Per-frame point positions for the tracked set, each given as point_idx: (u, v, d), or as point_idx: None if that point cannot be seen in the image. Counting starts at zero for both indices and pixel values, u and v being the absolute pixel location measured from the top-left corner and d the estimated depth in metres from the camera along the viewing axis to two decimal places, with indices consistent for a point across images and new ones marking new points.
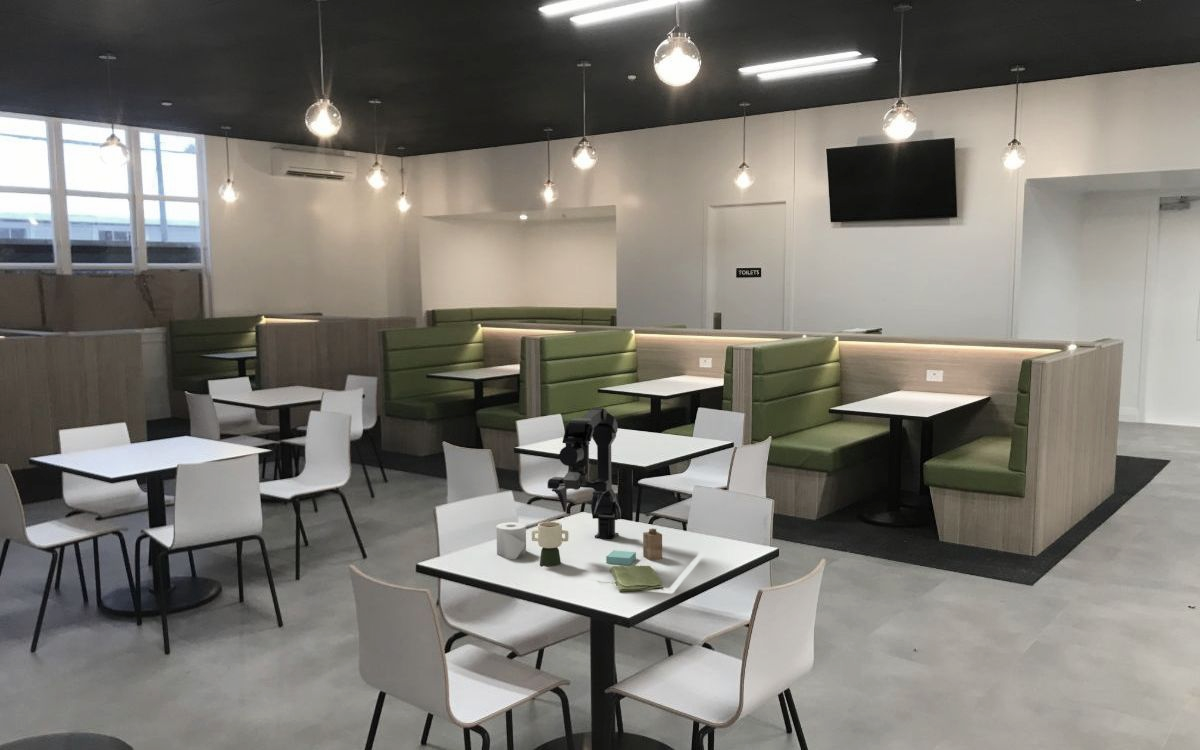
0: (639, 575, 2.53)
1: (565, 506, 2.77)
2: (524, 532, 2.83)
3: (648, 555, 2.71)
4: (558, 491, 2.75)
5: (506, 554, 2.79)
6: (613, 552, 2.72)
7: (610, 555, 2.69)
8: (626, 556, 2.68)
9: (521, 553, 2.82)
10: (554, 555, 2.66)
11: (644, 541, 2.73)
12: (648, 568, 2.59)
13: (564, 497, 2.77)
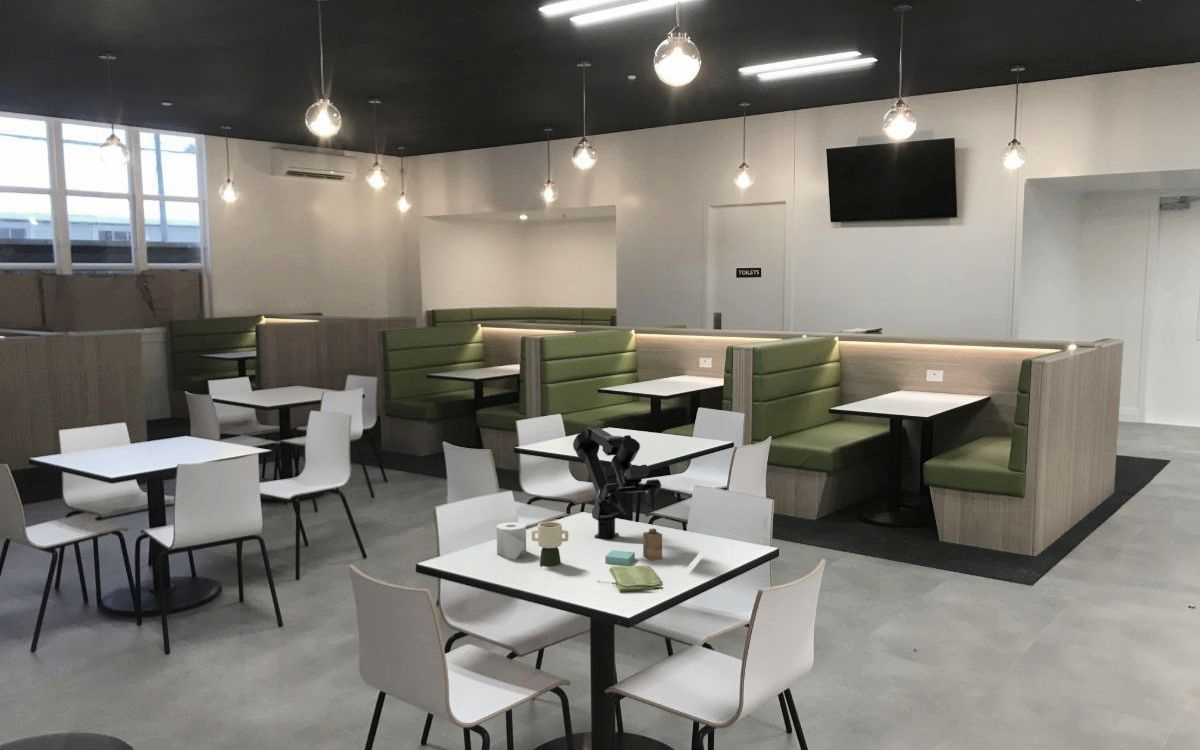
0: (639, 575, 2.53)
1: None
2: (524, 532, 2.83)
3: (648, 555, 2.71)
4: (618, 491, 2.79)
5: (506, 554, 2.79)
6: (612, 552, 2.72)
7: (609, 555, 2.69)
8: (625, 556, 2.68)
9: (521, 553, 2.82)
10: (554, 555, 2.66)
11: (644, 541, 2.73)
12: (648, 568, 2.59)
13: None
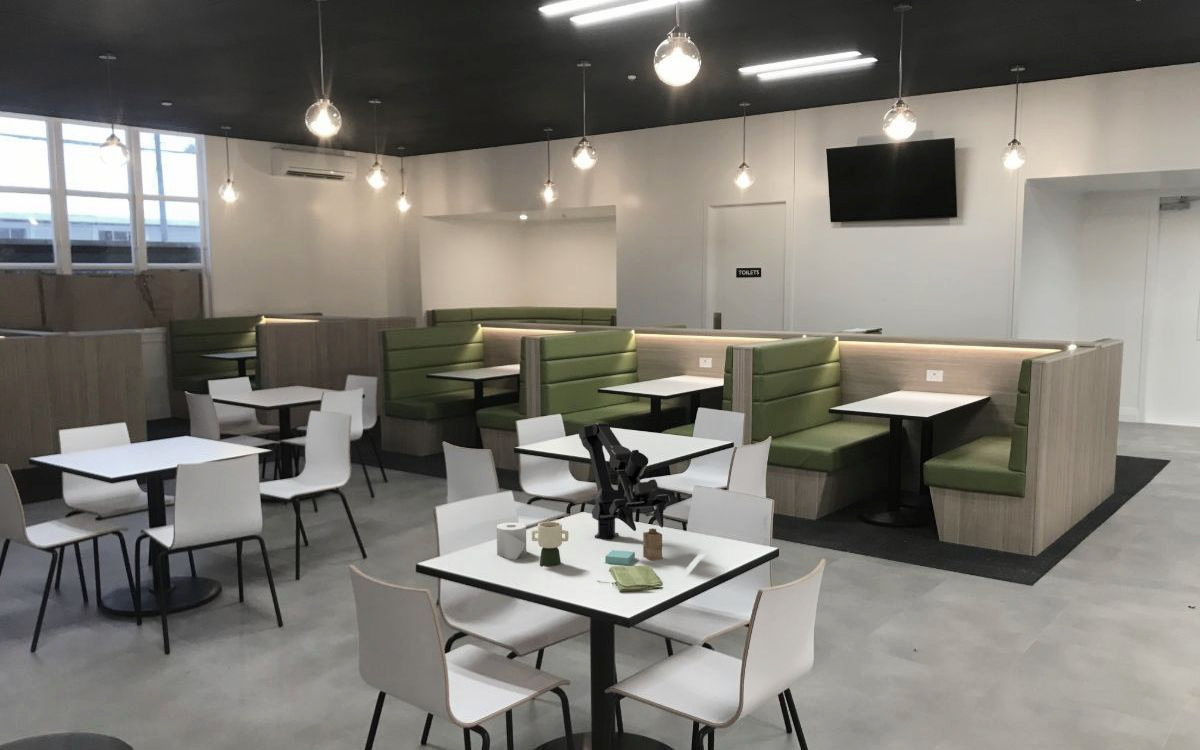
0: (639, 575, 2.53)
1: None
2: (524, 532, 2.82)
3: (648, 555, 2.71)
4: (627, 507, 2.75)
5: (506, 554, 2.79)
6: (612, 552, 2.72)
7: (609, 554, 2.70)
8: (625, 556, 2.68)
9: (521, 553, 2.81)
10: (554, 556, 2.66)
11: (644, 541, 2.73)
12: (647, 568, 2.59)
13: None
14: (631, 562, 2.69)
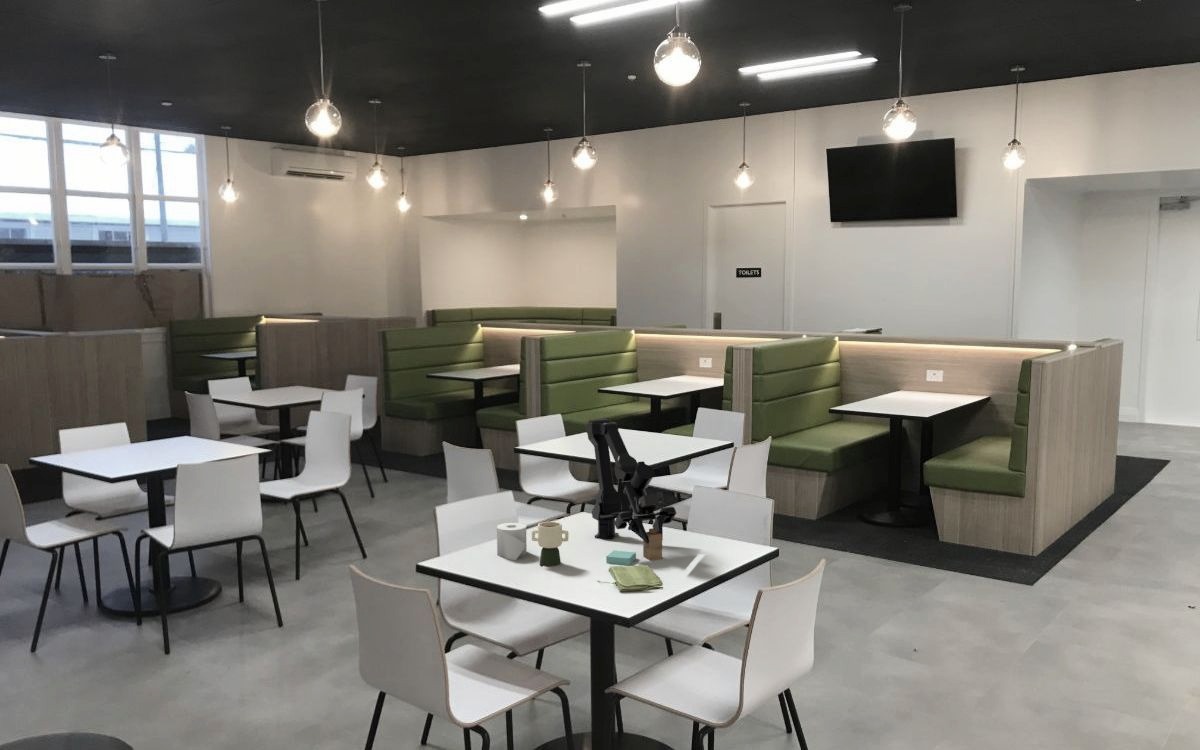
0: (638, 575, 2.53)
1: None
2: (524, 533, 2.82)
3: (648, 555, 2.71)
4: (640, 519, 2.72)
5: (506, 555, 2.78)
6: (613, 552, 2.73)
7: (610, 555, 2.70)
8: (626, 556, 2.68)
9: (521, 554, 2.81)
10: (554, 555, 2.66)
11: (644, 541, 2.73)
12: (647, 568, 2.59)
13: None
14: None
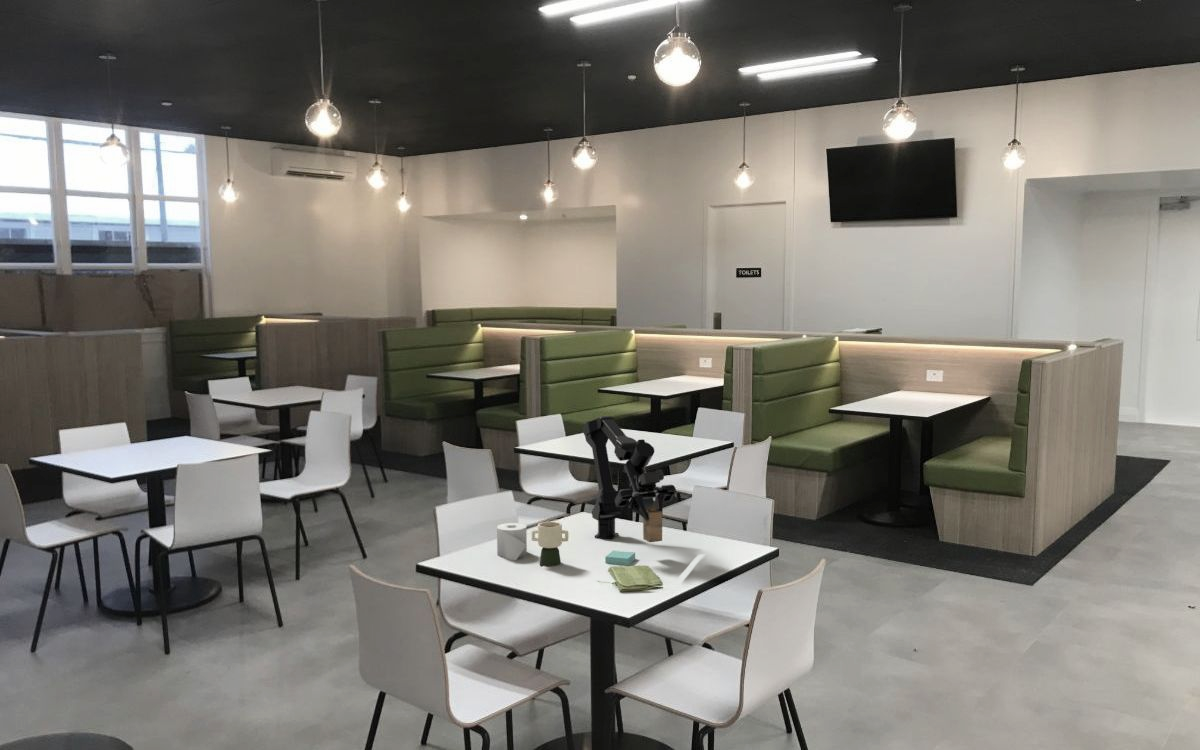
0: (638, 575, 2.53)
1: None
2: (525, 533, 2.82)
3: (648, 533, 2.71)
4: (640, 496, 2.72)
5: (506, 555, 2.78)
6: (612, 552, 2.72)
7: (609, 555, 2.69)
8: (625, 556, 2.68)
9: (522, 554, 2.81)
10: (554, 555, 2.66)
11: (644, 519, 2.73)
12: (646, 568, 2.59)
13: None
14: None
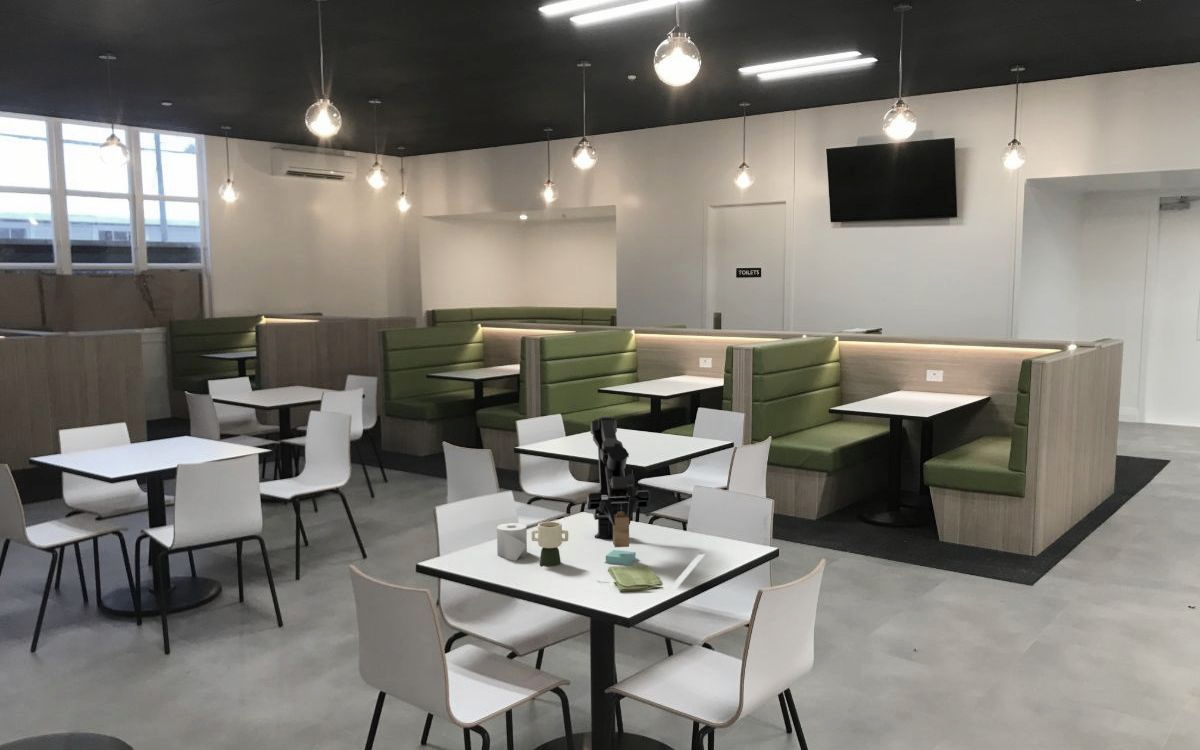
0: (638, 575, 2.53)
1: None
2: (525, 533, 2.81)
3: (614, 537, 2.68)
4: (608, 500, 2.70)
5: (506, 555, 2.78)
6: (613, 552, 2.73)
7: (609, 554, 2.70)
8: (625, 556, 2.68)
9: (522, 554, 2.81)
10: (554, 555, 2.66)
11: None
12: (646, 568, 2.59)
13: None
14: (631, 562, 2.69)
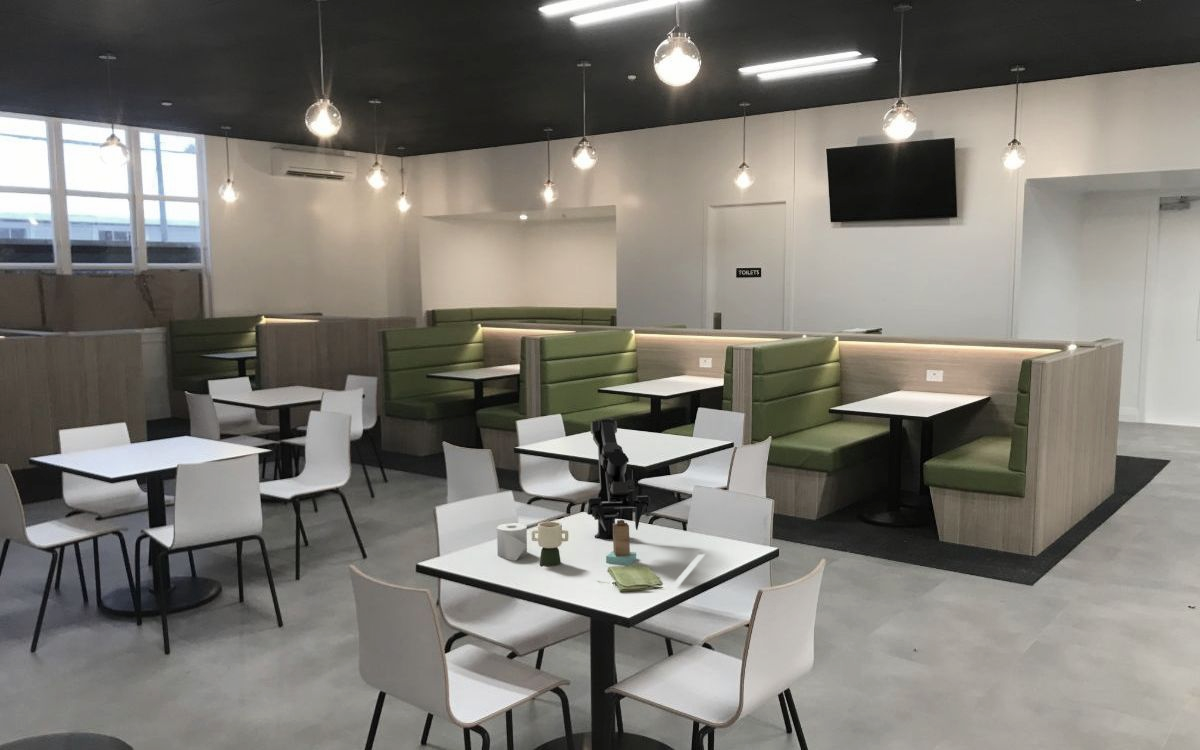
0: (638, 575, 2.53)
1: None
2: (525, 533, 2.81)
3: (615, 546, 2.69)
4: (601, 506, 2.70)
5: (506, 555, 2.78)
6: (613, 552, 2.73)
7: (609, 554, 2.70)
8: (626, 556, 2.68)
9: (522, 554, 2.80)
10: (554, 555, 2.66)
11: (613, 532, 2.71)
12: (646, 568, 2.59)
13: None
14: None
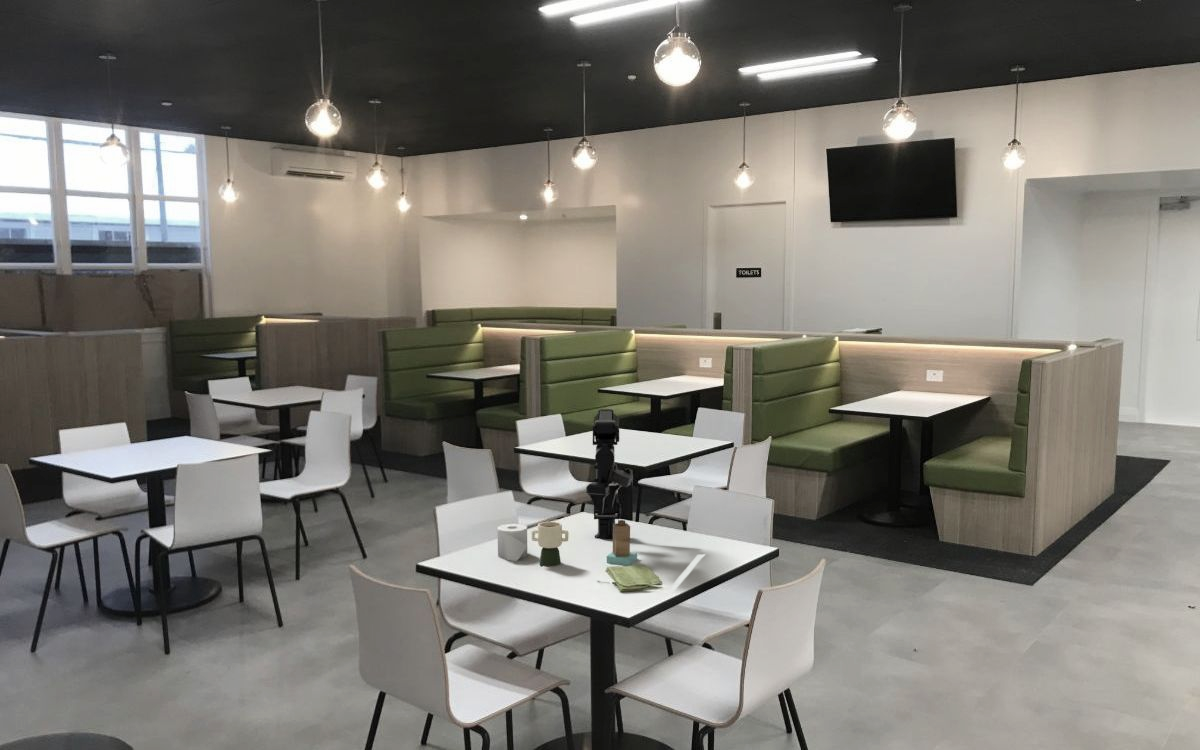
0: (637, 575, 2.53)
1: None
2: (525, 534, 2.80)
3: (615, 546, 2.68)
4: (607, 494, 2.77)
5: (507, 556, 2.77)
6: None
7: (610, 555, 2.70)
8: (626, 556, 2.68)
9: (522, 555, 2.79)
10: (554, 556, 2.66)
11: (613, 532, 2.70)
12: (644, 567, 2.60)
13: None
14: None
